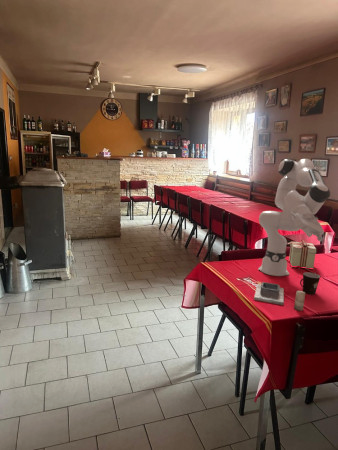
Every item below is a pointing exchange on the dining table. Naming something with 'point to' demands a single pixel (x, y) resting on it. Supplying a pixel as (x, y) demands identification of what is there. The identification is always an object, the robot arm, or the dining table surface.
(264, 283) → the grey block with recess
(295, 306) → the disc
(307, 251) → the gift box
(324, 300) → the dining table surface
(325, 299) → the dining table surface
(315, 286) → the coffee mug
